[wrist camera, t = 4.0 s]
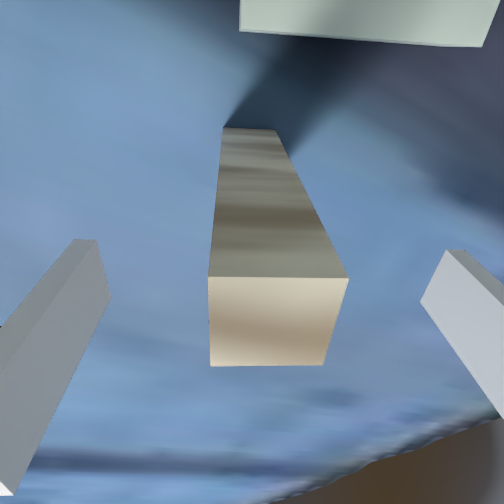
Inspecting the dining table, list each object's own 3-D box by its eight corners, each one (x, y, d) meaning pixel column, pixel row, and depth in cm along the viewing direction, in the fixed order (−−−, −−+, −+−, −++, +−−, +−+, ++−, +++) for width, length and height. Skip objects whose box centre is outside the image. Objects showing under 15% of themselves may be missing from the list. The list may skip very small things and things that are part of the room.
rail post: (270, 179, 26) (322, 365, 11) (222, 178, 26) (210, 366, 11) (275, 130, 24) (348, 278, 9) (223, 127, 23) (208, 276, 8)
